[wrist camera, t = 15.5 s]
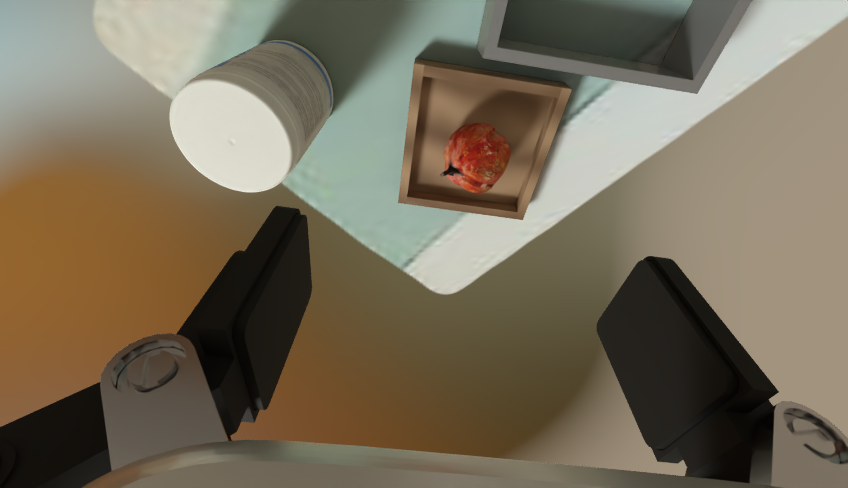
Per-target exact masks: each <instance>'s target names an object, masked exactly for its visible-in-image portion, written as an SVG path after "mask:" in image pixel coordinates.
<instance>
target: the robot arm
mask: <svg viewBox="0 0 848 488" xmlns="http://www.w3.org/2000/svg"><path fill="white" fill-rule="evenodd" d="M311 291H312V281H311V267H310V253H309V239H308V225H307V217H306V215H301V214H300V211H299V209H296V208H289V207H281V206H276V207H275V208H274V209H273V210H272V212H271V213H270V215H269V216H268V218H267V219H266V221H265V222H264V224H263V225H262V227H261V228H260V230H259V231H258V233H257V234H256V236H255V237H254V239H253V240H252V241H251V243H250V244H249V246H248V247H247V249H246V250H245V251H237V252H235V253H234V254H233V255H232V257H231V258H230V259H229V261H228V262H227V263H226V265H225V266H224V268H223V269H222V271H221V272H220V273H219V275H218V276H217V278H216V279H215V280H214V282H213V283H212V285H211V286H210V287H209V289H208V290H207V292H206V293H205V295H204V296H203V297H202V299H201V300H200V302H199V303H198V305H197V306H196V307H195V309H194V310H193V312H192V313H191V314H190V316H189V317H188V318H187V320H186V321H185V323H184V324H183V326H182V327H181V328H180V330H179V331H178V333H177V334H172V333H167V334H156V335H152V336H148V337H144V338H142V339H140V340H137V341H135V342H133V343H131V344H129V345H128V346H126V347H125V348H123V349H122V350H121V351H119V352H118V353H117V354H116V355H115V356H114V357H113V358H112V359H111V360H110V361H109V362H108V363H107V365H106V367H105V368H104V370H103V372H102V374H101V381H100V382H99V383H97V384H94V385H93V386H90V387H88V388H86V389H83V390H81V391H79V392H77V393H75V394H73V395H70V396H68V397H66V398H64V399H61V400H59V401H57V402H55V403H53V404H50V405H48V406H46V407H44V408H42V409H39V410H37V411H35V412H33V413H30V414H28V415H26V416H24V417H22V418H19V419H17V420H15V421H13V422H11V423H9V424H6V425H4V426H2V427H0V488H848V438H847V437H846V436H845V435H844V434H843V433H842V432H841V431H840V430H839V429H838V428H837V427H836V426H835V425H833V424H832V423H831V422H830V421H828V420H827V419H826V418H824V417H823V416H821V415H820V414H818V413H817V412H815V411H814V410H812V409H810V408H807V407H805V406H803V405H801V404H798V403H794V402H785V401H783V402H780V403H778V404H776V405H775V406H773V405H772V404H771V403H770V402H769V400H768V399H770V398H771V397H772V396H774V395H775V394H777V393H778V392H779V391H778V390H777V389H776V388H775V386H774V385H773V384H772V383H771V381H770V380H769V379H768V378H767V376H766V375H765V374H764V373H763V372H762V370H761V369H760V368H759V366H758V365H757V364H756V363H755V361H754V360H753V359H752V358H751V356H750V355H749V354H748V353H747V351H746V350H745V349H744V348H743V346H742V345H741V344H740V343H739V341H738V340H737V339H736V338H735V336H734V335H733V334H732V333H731V332H730V330H729V329H728V328H727V327H726V325H725V324H724V323H723V322H722V320H721V319H720V318H719V317H718V315H717V314H716V313H715V312H714V310H713V309H712V308H711V307H710V306H709V304H708V303H707V302H706V300H705V299H704V298H703V297H702V295H701V294H700V293H699V292H698V290H697V289H696V288H695V287H694V286H693V284H692V283H691V282H690V280H689V279H688V278H687V277H686V276H685V274H684V273H683V272H682V270H681V269H680V268H679V267H678V265H677V264H676V263H675V262H674V261H673V260H671V259H668V258H660V257H653V256H648V257H646V258H644V260H641V261H639V262H638V263H637V264H636V266H635V267H634V268H633V270H632V271H631V273H630V275H629V276H628V277H627V279H626V280H625V282H624V283H623V285H622V286H621V288H620V289H619V291H618V292H617V294H616V295H615V297H614V298H613V300H612V301H611V303H610V304H609V305H608V307H607V308H606V310H605V311H604V313H603V314H602V316H601V317H600V319H599V320H598V323H597V332H598V335H599V337H600V340H601V342H602V344H603V347H604V349H605V351H606V354H607V356H608V358H609V360H610V363H611V365H612V367H613V370H614V372H615V374H616V377H617V379H618V381H619V383H620V386H621V388H622V390H623V393H624V395H625V397H626V399H627V402H628V404H629V406H630V408H631V411H632V413H633V415H634V418H635V420H636V422H637V425H638V427H639V429H640V432H641V434H642V436H643V438H644V440H645V442H646V444H647V445H648V446H649V447H651V448H652V450H653V452H654V455H655V457H656V459H657V461H658V462H669V463H679V462H680V461H682V460H684V462H685V464H686V466H687V470H686V473H685V476H676V475H665V474H655V473H646V472H636V471H625V470H616V469H605V468H595V467H584V466H573V465H563V464H552V463H542V462H531V461H520V460H509V459H498V458H488V457H478V456H466V455H455V454H444V453H443V454H442V453H431V452H421V451H410V450H398V449H387V448H376V447H365V446H352V445H338V444H323V443H309V442H295V441H269V440H239V441H232V438H231V435H232V434H234V433H235V432H237V430H238V427H239V425H240V423H241V421H242V422H253V423H254V422H255V420H256V417H257V415H258V412H259V410H260V409H262V410H266V409H267V407H268V405H269V403H270V401H271V398H272V395H273V393H274V391H275V388H276V385H277V383H278V380H279V378H280V375H281V372H282V370H283V367H284V364H285V362H286V359H287V357H288V354H289V351H290V349H291V346H292V344H293V341H294V339H295V336H296V333H297V331H298V328H299V326H300V323H301V320H302V317H303V315H304V312H305V310H306V307H307V305H308V302H309V299H310V296H311Z"/></svg>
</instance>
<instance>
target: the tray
mask: <svg viewBox="0 0 848 488" xmlns="http://www.w3.org/2000/svg"><path fill="white" fill-rule="evenodd" d="M571 91H572V89H571V88H570V87H569V86H568V85H567V84H566V83H564V82H558V81H552V80H546V79H539V78H533V77H527V76H521V75H515V74H509V73H503V72H497V71H491V70H485V69H479V68H472V67H466V66H460V65H454V64H448V63H442V62H436V61H430V60H424V59H418V58H415V62H414V69H413V78H412V87H411V96H410V104H409V113H408V122H407V131H406V139H405V148H404V157H403V165H402V174H401V183H400V192H399V200H398V203H404V204H411V205H418V206H425V207H433V208H440V209H447V210H454V211H462V212H469V213H476V214H483V215H491V216H498V217H505V218H512V219H520V220H523V218H524V215H525V212H526V210H527V207H528V204H529V202H530V199H531V197H532V194H533V191H534V189H535V186H536V183H537V181H538V178H539V175H540V173H541V170H542V167H543V165H544V162H545V159H546V157H547V154H548V151H549V149H550V146H551V144H552V141H553V138H554V136H555V133H556V130H557V128H558V125H559V122H560V120H561V117H562V114H563V112H564V109H565V106H566V104H567V101H568V99H569V96H570V93H571ZM474 123H485V124H489V125H492V126H493V127H494V128H495V129H496V132H497V133H499V134H501V135H502V136H504V137H505V138H506V140H507V142H508V143H509V144H510V145H509V147H510V150H511V155H510V159H509V163H508V165H507V167H506V170H505V172H504V173H503V175H502V176H501V177H500V178H499V180H498V181H497V182H496V183H495V184H494V186H493V187H492V189H490V190H488V191H487V192H484V193H474V192H470V191H467V190H466V189H464V188H463V187H462V186H459V185H456V184H455V183H453V182H452V181H451V180H449V179H448V177H447V175H446V176H442V177H439V176H440V174H441V173H442V172H444V171H445V159H444V150H445V145H446V142H447V141H448V139H449V138H450V136H451V135H452V134H453V133H454V132H455V131H456V130H457V129H459V128H460V127H462V126H463V125H465V124H474Z"/></svg>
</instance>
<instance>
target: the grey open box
mask: <svg viewBox="0 0 848 488" xmlns="http://www.w3.org/2000/svg"><path fill="white" fill-rule="evenodd" d="M751 1H752V0H693V2H692V4H691V6H690V8H689V10H688V12H687V14H686V16H685V18H684V20H683V22H682V24H681V26H680V28H679V30H678V32H677V34H676V36H675V38H674V40H673V42H672V44H671V46H670V48H669V50H668V52H667V54H666V56H665V58H664V60H663V62H662V64H661V66H659V65H653V64H647V63H641V62H636V61H630V60H624V59H618V58H612V57H606V56H600V55H594V54H589V53H583V52H577V51H571V50H565V49H559V48H553V47H547V46H542V45H536V44H530V43H524V42H518V41H512V40H506V39H500V38H499V36H500V32H501V28H502V24H503V20H504V15H505V11H506V7H507V3H508V0H486V4H485V9H484V14H483V19H482V24H481V28H480V33H479V38H478V43H477V47H478V50H479V52H480V54H481V56H482V58H485V59H491V60H497V61H503V62H509V63H515V64H521V65H527V66H533V67H539V68H545V69H551V70H557V71H563V72H569V73H575V74H581V75H587V76H593V77H599V78H605V79H611V80H617V81H623V82H629V83H635V84H641V85H647V86H653V87H659V88H665V89H671V90H677V91H683V92H689V93H695V94H697V93H698V91H699V90H700V88H701V86H702V85H703V83H704V81H705V79H706V78H707V76H708V74H709V73H710V71H711V69H712V68H713V66H714V64H715V62H716V61H717V59H718V57H719V56H720V54H721V52H722V51H723V49H724V47H725V45H726V44H727V42H728V40H729V39H730V37H731V35H732V33H733V32H734V30H735V28H736V27H737V25H738V23H739V22H740V20H741V18H742V16H743V15H744V13H745V11H746V10H747V8H748V6H749V4H750V3H751Z"/></svg>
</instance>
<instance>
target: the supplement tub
mask: <svg viewBox="0 0 848 488" xmlns="http://www.w3.org/2000/svg"><path fill="white" fill-rule="evenodd" d="M332 107H333V88H332V83H331V80H330V77H329V75H328V73H327V71H326V69H325V68H324V66H323V65H322V63H321V62H320V61H319V60H318V58H317V57H316V56H315V55H313V54H312V53H311V52H310V51H309V50H307V49H306V48H304V47H302V46H300V45H298V44H296V43H293V42H290V41H285V40H272V41H267V42H264V43H262V44H260V45H258V46H256V47H253V48H251V49H249V50H247V51H245V52H243V53H241V54H239V55H237V56H235V57H233V58H231V59H229V60H227V61H225V62H223V63H221V64H219V65H217V66H215V67H213V68H211V69H209V70H207V71H205V72H203V73H201V74H199V75H198V76H196V77H195V78H193V79H192V80H190V81H189V82H188V83H187V84H186V85H185V86H183V87H182V88H181V89H180V90H179V91H178V92H177V94H176V95H175V97H174V99H173V101H172V104H171V108H170V126H171V130H172V133H173V136H174V139H175V141H176V143H177V145H178V147H179V148H180V150H181V152H182V153H183V154H184V156H185V157H186V158H187V160H188V161H189V162H190V163H191V164H192V165H193V166H194V167H195V168H196V169H197V170H198V171H199V172H201V173H202V174H203V175H204V176H206V177H207V178H209V179H211V180H212V181H214V182H216V183H218V184H220V185H222V186H224V187H227V188H229V189H233V190H236V191H242V192H260V191H265V190H268V189H271V188H273V187H275V186H276V185H278V184H279V183H280V182H282V181H283V179H284V178H286V177H287V176H288V175H289V174H290V173H291V172H292V170H293V169H294V168H295V166H296V165H297V163H298V162H299V160H300V159H301V158H302V156H303V155H304V153H305V152H306V150H307V149H308V147H309V146H310V144H311V143H312V141H313V140H314V138H315V137H316V135H317V134H318V133H319V131H320V130H321V128H322V127H323V125H324V124H325V122H326V120H327V119H328V117H329V116H330V113H331V111H332Z"/></svg>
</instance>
